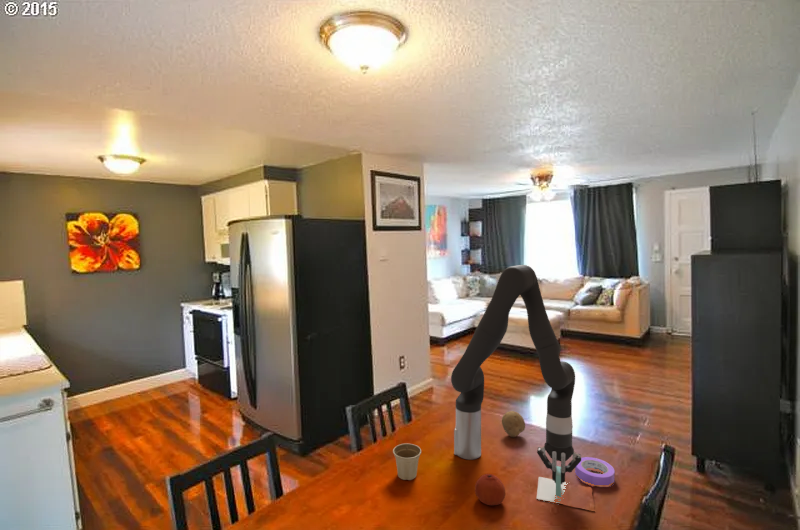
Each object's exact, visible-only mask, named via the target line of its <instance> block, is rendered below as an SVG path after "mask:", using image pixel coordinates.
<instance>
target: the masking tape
mask: <svg viewBox="0 0 800 530" xmlns="http://www.w3.org/2000/svg"><path fill="white" fill-rule="evenodd" d="M587 468H594V469H599V470H601V471H603V472H604V473H603V474H601V473H598V472H594V471H593V472H592V471H591V470H586V469H587ZM615 472H616V471H615V468H614V467H613V466H612V465H611V464H610V463H608V462H607V461H605V460H603V459H601V458H596V457H591V456H585V457H583V456H582V457H581V461H580V463H579V464H578V465H577V466H576V467H575V468H574V474H575V473H576V475H577V476H578V477H579V478H580V479H582V480H583V481H585V482H588V483H591V484H594V485H609V484H611V483H613V482H614V483H615ZM576 475H575V476H576Z"/></svg>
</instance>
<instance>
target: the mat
mask: <svg viewBox="0 0 800 530" xmlns="http://www.w3.org/2000/svg"><path fill="white" fill-rule="evenodd" d="M566 482H567V481H565V482H564V483H563V484H561V493H562V494H561V495H563V494H564V492H565V490H563V489H566V488H565V487H566V486H564V485H567V484H568V483H567V484H566ZM555 495H556V483H555V481H553V480H552V478H547V477H542V476H538V480H537V491H536V500H537V499H538V500H537V501H540V500H543V501H542V502H545V501H550V502H555V501H554V500H555V499H560V498H558V497H557V496H555ZM555 497H556V498H555ZM561 497H562V496H561ZM563 499H564V498H563ZM558 501H561V499H560V500H558ZM550 502H549V503H550ZM556 503H560V502H556Z"/></svg>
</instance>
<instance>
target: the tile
mask: <svg viewBox="0 0 800 530" xmlns="http://www.w3.org/2000/svg"><path fill="white" fill-rule="evenodd" d="M556 468H557V469H556V496H559V497H561V470H560V469H561V465H560V466H558V465H556Z"/></svg>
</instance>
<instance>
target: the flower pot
mask: <svg viewBox="0 0 800 530" xmlns="http://www.w3.org/2000/svg"><path fill="white" fill-rule="evenodd" d="M392 453H393V455H394V458H395V463H396V464H395V465H396V469H397V470H396V472H397V476H398V478H399V479H401V480H403V481H406V480H408V481H412V480H414V479H415V478H416V477H417V473H418V466H419V460H420V455H421V454H422V449H421V447H420V446H419V445H416V444H413V443H407V442H406V443H401V444H398V445H396V446H395V447H394V448H393V449H392Z"/></svg>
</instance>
